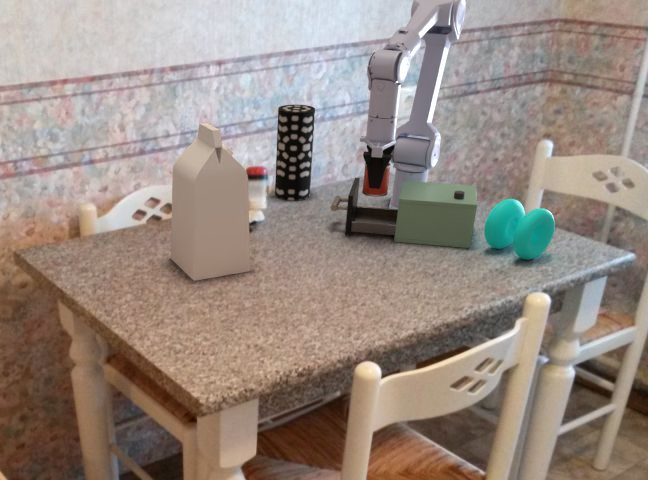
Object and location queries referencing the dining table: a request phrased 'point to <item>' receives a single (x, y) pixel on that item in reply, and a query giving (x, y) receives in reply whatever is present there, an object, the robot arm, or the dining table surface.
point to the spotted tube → (294, 151)
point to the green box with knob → (436, 214)
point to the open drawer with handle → (365, 215)
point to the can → (383, 187)
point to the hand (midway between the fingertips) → (375, 184)
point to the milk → (210, 209)
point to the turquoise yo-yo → (519, 228)
